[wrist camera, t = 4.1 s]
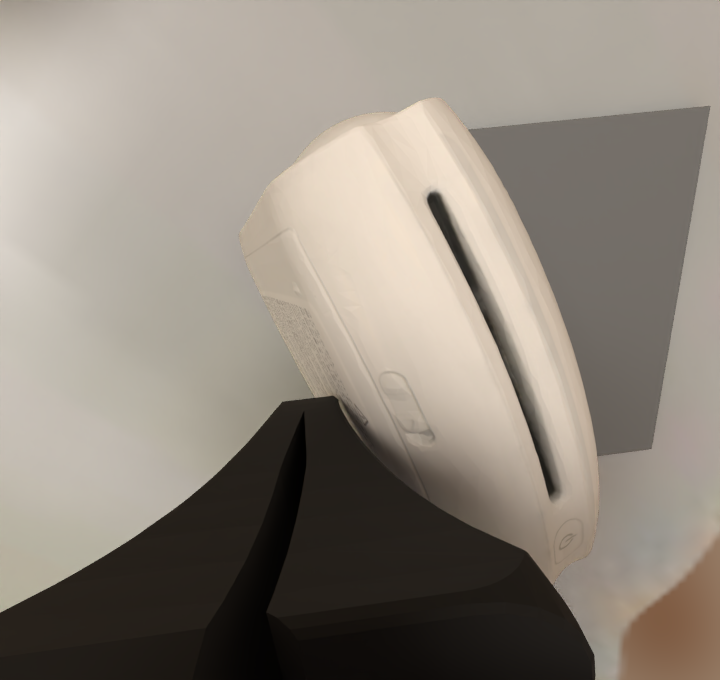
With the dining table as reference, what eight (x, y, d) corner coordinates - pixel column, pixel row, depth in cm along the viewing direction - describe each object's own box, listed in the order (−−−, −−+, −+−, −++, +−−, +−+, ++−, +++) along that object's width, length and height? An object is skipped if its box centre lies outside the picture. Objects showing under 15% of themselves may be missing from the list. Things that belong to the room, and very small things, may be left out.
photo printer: (416, 398, 20) (698, 556, 8) (337, 446, 19) (530, 704, 7) (319, 185, 17) (531, -19, 6) (221, 229, 16) (236, 91, 5)
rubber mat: (644, 443, 23) (651, 448, 22) (395, 475, 22) (396, 481, 22) (699, 107, 17) (710, 105, 17) (367, 140, 17) (369, 139, 16)
